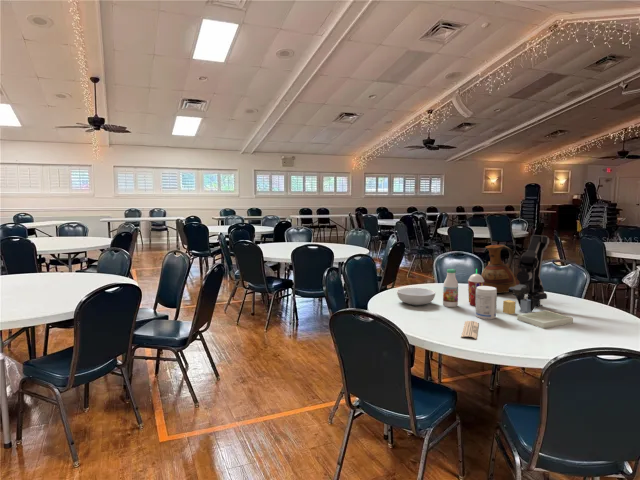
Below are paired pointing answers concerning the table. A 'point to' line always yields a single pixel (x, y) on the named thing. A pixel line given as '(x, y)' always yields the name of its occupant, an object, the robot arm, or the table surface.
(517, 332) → the table surface
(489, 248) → the ceramic pitcher
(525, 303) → the slate block
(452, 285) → the milk bottle
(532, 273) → the robot arm
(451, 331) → the table surface
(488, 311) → the supplement tub
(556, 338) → the table surface
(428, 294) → the serving bowl
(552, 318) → the tray
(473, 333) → the newspaper
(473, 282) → the smoothie
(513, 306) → the ochre block
